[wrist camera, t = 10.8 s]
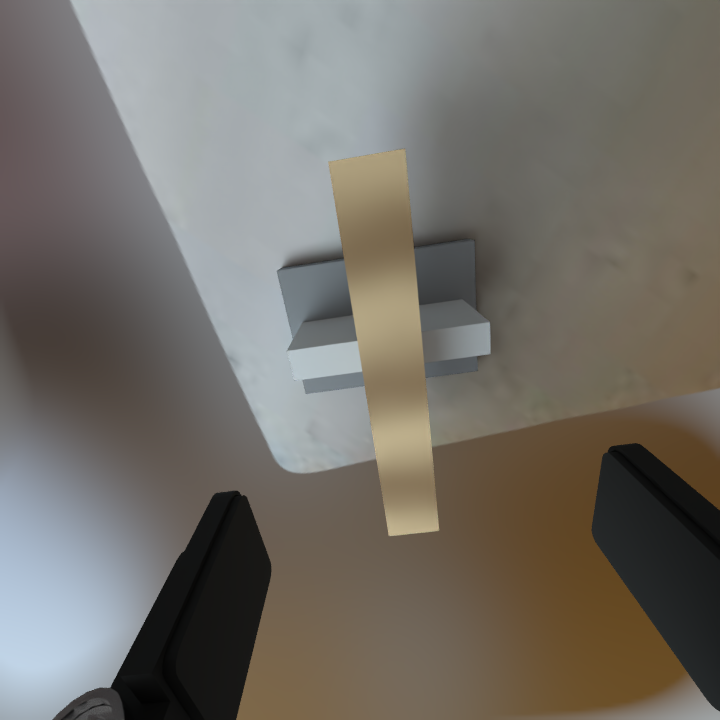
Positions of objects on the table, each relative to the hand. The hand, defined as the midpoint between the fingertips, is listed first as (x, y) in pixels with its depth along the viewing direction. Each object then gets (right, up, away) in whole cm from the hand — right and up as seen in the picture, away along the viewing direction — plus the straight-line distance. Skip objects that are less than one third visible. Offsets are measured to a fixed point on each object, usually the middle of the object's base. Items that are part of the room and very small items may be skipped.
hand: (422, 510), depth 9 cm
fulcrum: (0, +7, +19) cm, 20 cm away
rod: (0, +4, +12) cm, 12 cm away
